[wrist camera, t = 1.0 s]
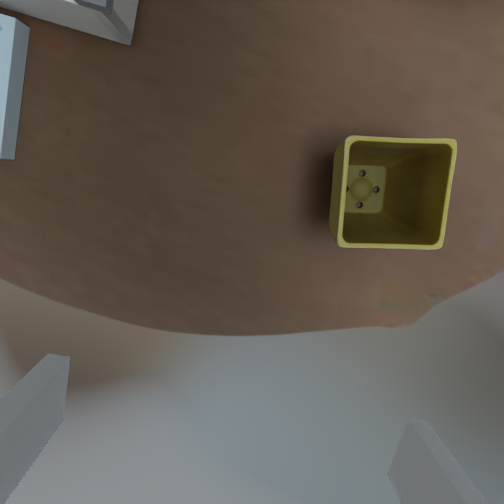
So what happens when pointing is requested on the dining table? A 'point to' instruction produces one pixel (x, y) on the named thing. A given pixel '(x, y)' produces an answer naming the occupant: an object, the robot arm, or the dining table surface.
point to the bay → (84, 15)
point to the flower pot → (391, 192)
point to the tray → (11, 80)
